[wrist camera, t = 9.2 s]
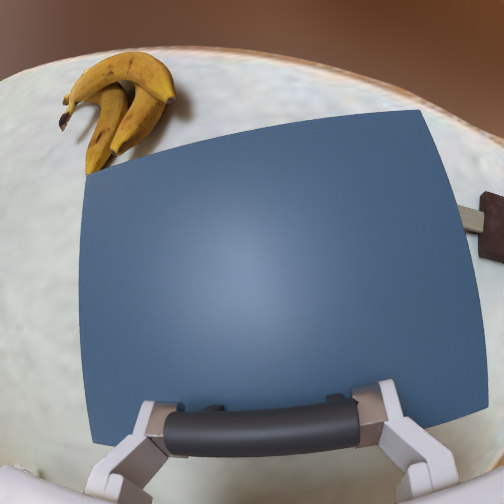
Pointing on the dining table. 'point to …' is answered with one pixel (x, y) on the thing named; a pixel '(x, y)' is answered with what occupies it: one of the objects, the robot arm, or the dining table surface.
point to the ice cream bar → (487, 225)
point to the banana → (121, 103)
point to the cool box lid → (278, 287)
